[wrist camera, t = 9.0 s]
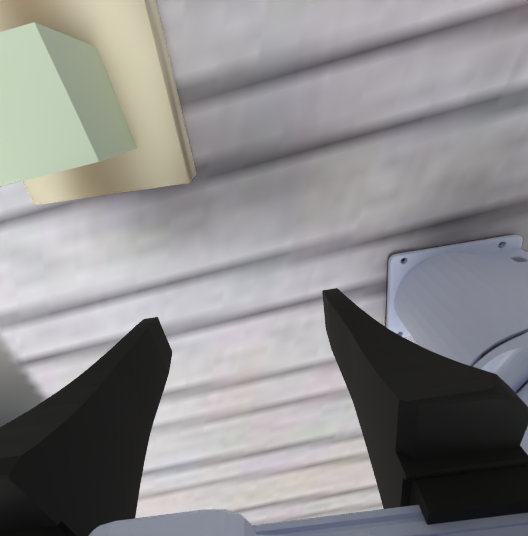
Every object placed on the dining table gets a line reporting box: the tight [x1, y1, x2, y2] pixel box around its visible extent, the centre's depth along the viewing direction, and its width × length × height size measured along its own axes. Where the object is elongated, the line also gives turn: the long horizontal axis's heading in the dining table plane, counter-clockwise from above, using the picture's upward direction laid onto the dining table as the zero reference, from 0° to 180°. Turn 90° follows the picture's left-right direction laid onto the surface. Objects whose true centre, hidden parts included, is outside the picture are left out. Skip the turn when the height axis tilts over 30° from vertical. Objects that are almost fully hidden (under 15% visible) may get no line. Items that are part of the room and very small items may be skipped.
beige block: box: [0, 0, 197, 205], centre depth 16 cm, size 9×9×3 cm
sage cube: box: [0, 22, 137, 187], centre depth 13 cm, size 4×4×4 cm
